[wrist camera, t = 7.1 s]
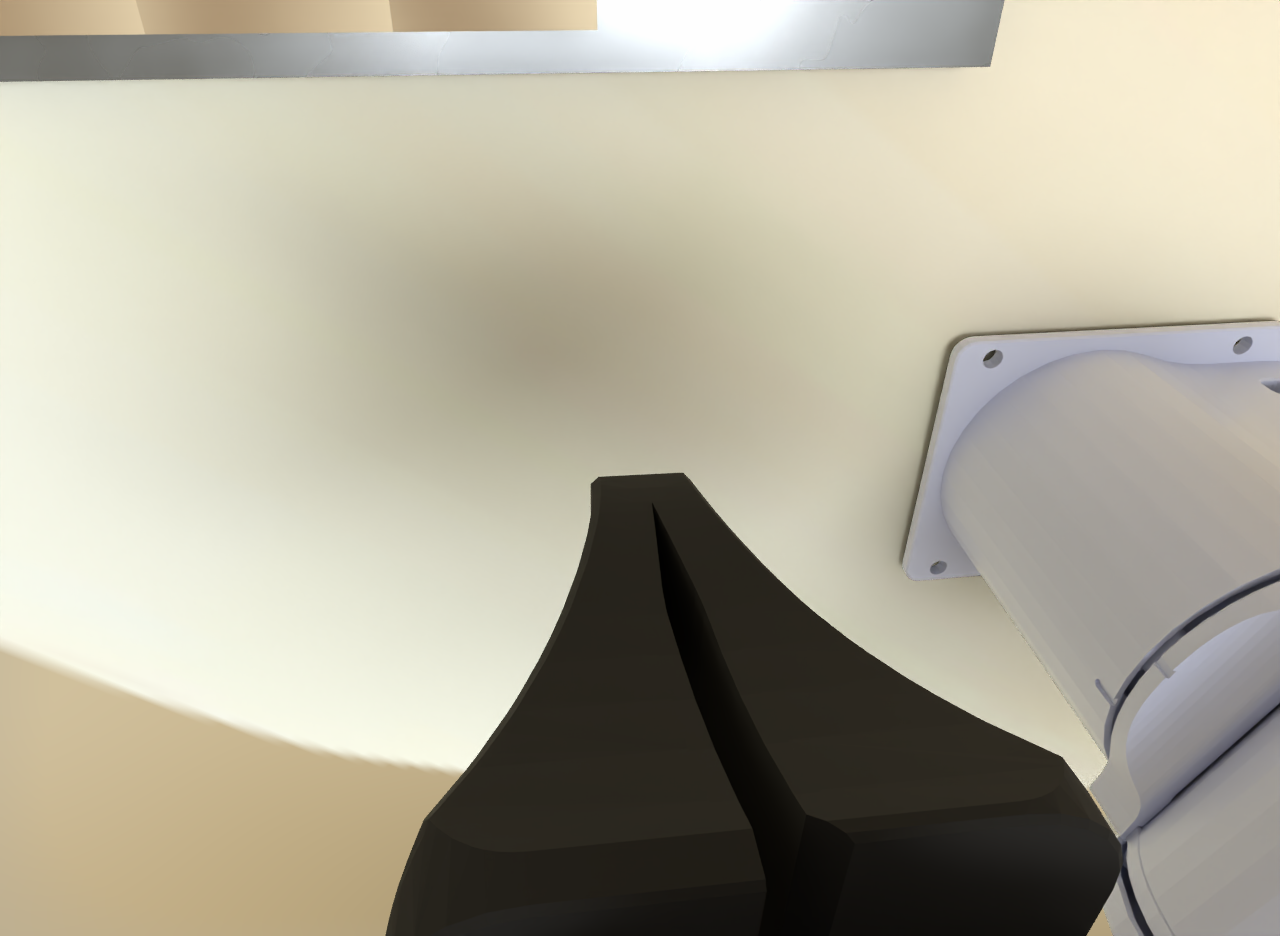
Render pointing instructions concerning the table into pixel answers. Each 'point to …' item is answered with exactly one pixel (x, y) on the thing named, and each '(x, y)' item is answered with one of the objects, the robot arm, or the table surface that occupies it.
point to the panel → (289, 16)
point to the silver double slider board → (551, 44)
